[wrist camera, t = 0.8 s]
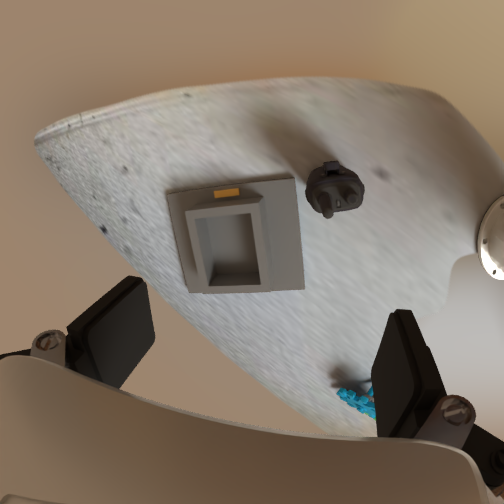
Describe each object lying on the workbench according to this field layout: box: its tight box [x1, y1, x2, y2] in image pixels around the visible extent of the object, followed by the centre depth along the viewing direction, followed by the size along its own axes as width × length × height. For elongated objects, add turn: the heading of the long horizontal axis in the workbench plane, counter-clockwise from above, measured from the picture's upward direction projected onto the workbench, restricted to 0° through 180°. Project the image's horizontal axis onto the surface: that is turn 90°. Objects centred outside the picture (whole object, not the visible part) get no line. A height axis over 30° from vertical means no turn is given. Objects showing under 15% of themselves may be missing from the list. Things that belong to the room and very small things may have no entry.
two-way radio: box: [305, 161, 365, 219], centre depth 26 cm, size 6×4×15 cm
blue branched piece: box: [337, 386, 376, 420], centre depth 41 cm, size 11×6×10 cm
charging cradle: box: [167, 178, 305, 294], centre depth 36 cm, size 16×14×4 cm
